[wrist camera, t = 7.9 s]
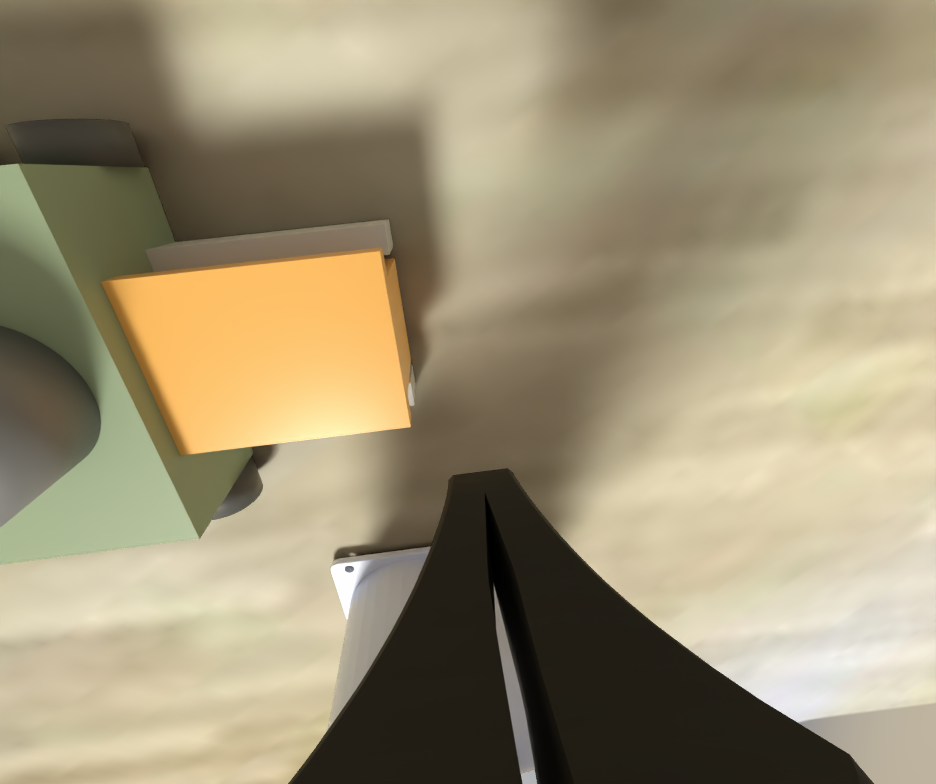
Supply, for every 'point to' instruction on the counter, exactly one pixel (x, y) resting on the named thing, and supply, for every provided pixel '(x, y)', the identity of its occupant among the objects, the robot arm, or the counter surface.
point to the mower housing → (105, 349)
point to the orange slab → (270, 348)
